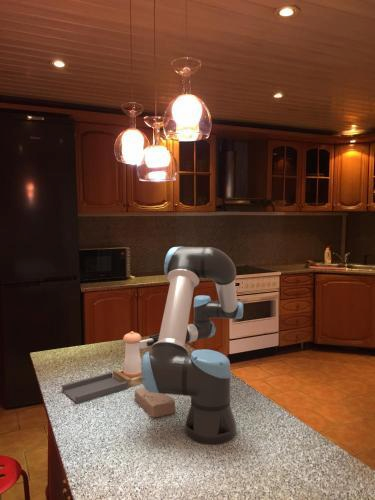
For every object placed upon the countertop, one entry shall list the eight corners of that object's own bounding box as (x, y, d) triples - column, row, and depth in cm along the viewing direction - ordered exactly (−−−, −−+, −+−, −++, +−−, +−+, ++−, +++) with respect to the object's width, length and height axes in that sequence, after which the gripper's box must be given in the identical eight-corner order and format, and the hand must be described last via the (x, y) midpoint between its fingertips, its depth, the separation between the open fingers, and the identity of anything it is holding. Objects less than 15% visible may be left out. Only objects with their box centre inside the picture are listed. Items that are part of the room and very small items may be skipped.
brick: (133, 399, 140) (133, 386, 140) (155, 394, 144) (155, 382, 144) (152, 420, 126) (152, 406, 125) (176, 414, 130) (176, 400, 129)
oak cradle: (138, 371, 165) (137, 364, 165) (153, 379, 157) (153, 372, 156) (113, 378, 158) (112, 370, 158) (127, 387, 149) (127, 379, 149)
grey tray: (111, 377, 158) (111, 372, 158) (127, 388, 148) (127, 382, 148) (62, 391, 146) (62, 385, 146) (76, 404, 136) (76, 397, 136)
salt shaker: (132, 384, 152) (132, 335, 151) (119, 379, 156) (118, 332, 155) (145, 378, 158) (145, 331, 156) (132, 374, 162) (132, 328, 161)
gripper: (194, 346, 169) (147, 358, 154) (176, 339, 179) (130, 350, 164) (194, 329, 168) (147, 339, 153) (176, 322, 178) (130, 332, 164)
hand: (138, 345), depth 159 cm, fingers closed
